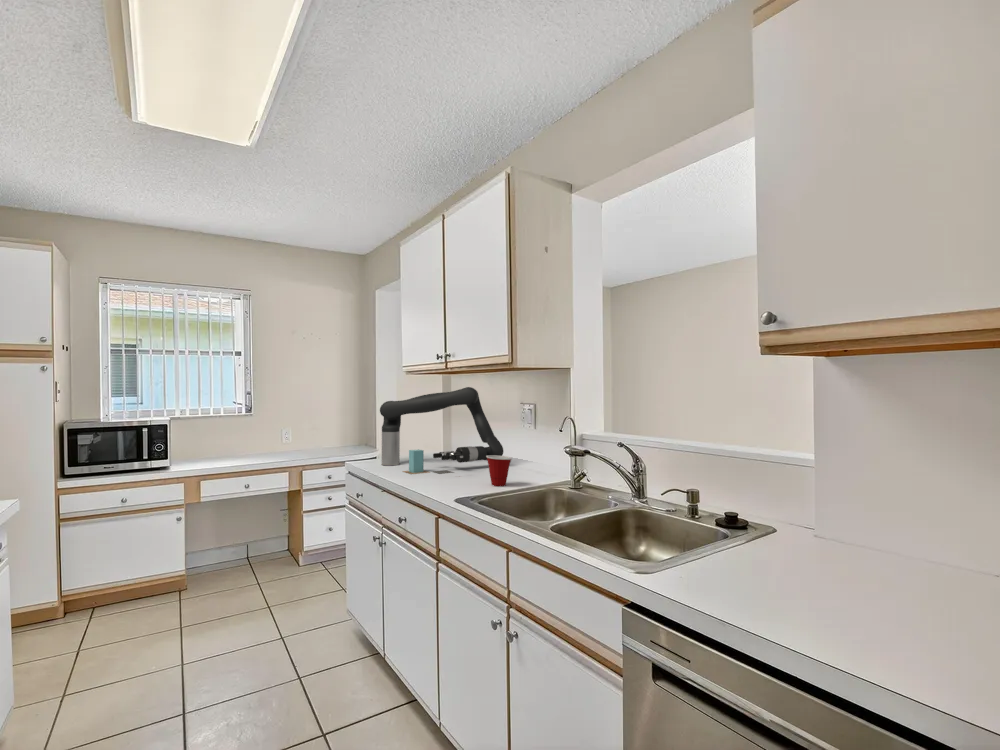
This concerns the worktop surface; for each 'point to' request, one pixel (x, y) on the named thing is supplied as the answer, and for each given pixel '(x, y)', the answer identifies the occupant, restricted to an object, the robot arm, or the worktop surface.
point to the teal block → (416, 461)
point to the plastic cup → (498, 469)
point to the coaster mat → (443, 472)
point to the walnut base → (416, 473)
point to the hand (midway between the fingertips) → (437, 456)
